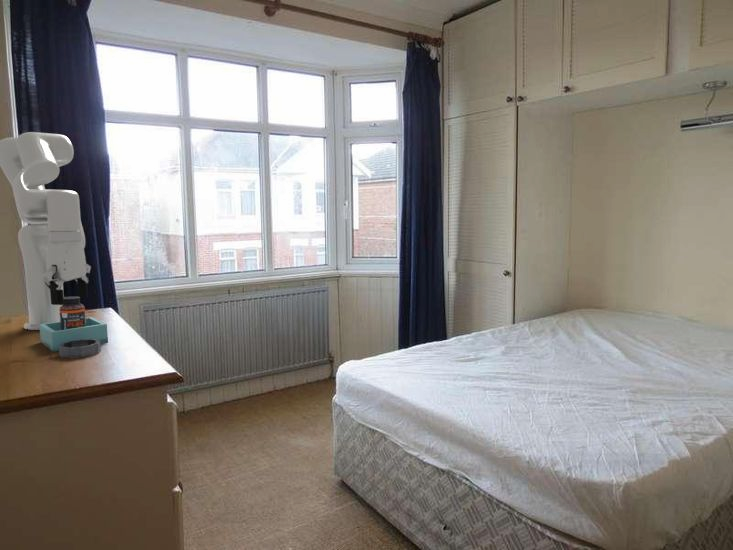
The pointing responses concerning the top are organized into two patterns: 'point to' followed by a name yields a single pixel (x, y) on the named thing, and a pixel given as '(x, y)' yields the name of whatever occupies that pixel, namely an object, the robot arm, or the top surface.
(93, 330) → the bin
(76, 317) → the supplement bottle
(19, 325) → the top surface
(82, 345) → the collar
